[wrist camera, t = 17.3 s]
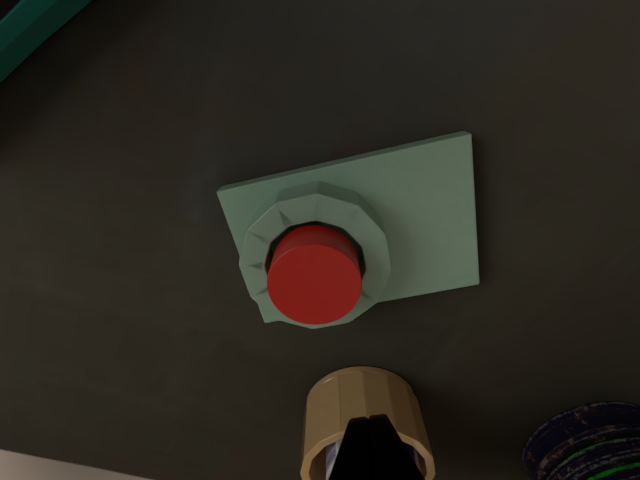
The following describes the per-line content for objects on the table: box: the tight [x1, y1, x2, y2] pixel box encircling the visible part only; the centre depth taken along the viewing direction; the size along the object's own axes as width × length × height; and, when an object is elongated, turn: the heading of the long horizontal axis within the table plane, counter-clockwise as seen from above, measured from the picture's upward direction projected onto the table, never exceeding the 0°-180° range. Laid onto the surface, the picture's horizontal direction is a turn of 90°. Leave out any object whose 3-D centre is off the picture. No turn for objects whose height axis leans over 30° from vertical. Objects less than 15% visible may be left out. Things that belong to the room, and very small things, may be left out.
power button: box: [267, 225, 362, 325], centre depth 16 cm, size 4×4×2 cm
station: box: [217, 131, 479, 329], centre depth 18 cm, size 12×8×3 cm, turn 103°
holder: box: [300, 366, 436, 480], centre depth 22 cm, size 8×8×4 cm
